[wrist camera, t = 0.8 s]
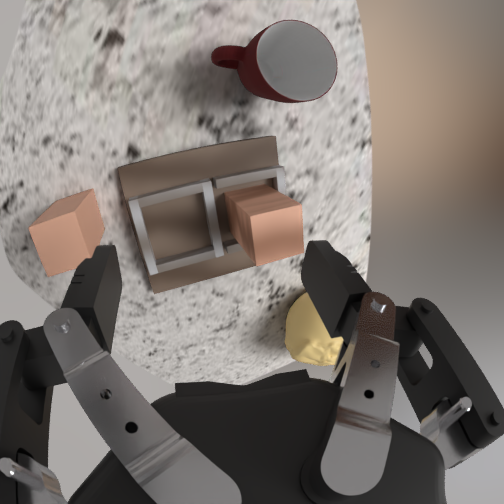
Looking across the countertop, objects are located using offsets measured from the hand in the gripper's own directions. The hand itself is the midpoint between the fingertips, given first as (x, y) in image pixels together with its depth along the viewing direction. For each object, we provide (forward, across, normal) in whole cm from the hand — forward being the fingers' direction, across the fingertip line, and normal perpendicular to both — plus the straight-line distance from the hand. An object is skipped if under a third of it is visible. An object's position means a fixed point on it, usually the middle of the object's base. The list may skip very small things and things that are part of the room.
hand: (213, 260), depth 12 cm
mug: (+25, -5, -8) cm, 27 cm away
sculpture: (+21, -18, +26) cm, 38 cm away
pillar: (+20, +14, +7) cm, 25 cm away
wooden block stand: (+22, -2, +8) cm, 23 cm away
